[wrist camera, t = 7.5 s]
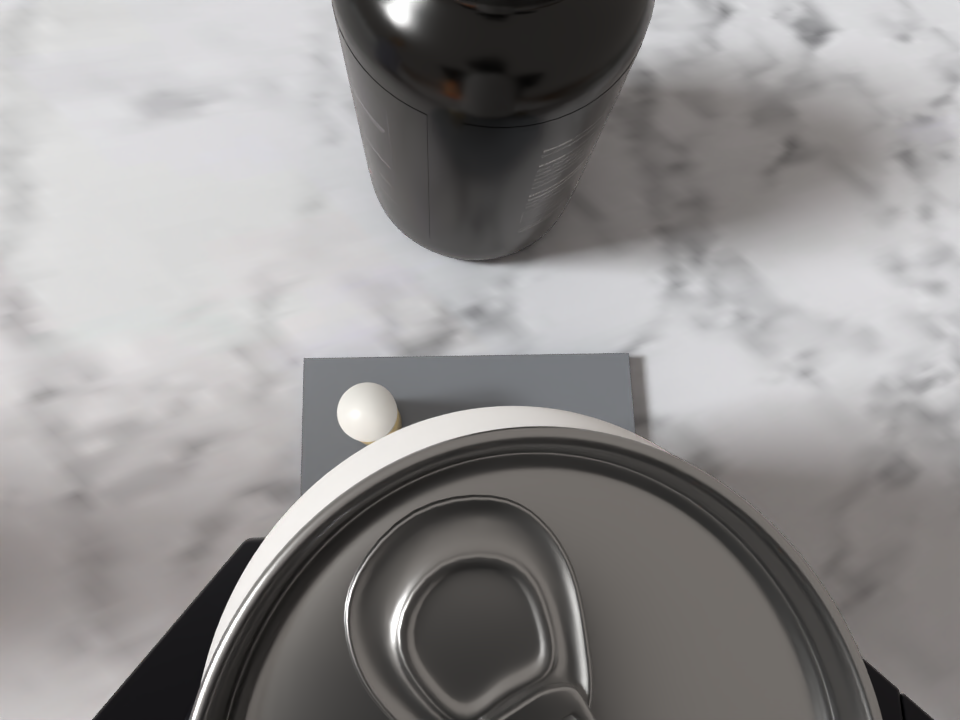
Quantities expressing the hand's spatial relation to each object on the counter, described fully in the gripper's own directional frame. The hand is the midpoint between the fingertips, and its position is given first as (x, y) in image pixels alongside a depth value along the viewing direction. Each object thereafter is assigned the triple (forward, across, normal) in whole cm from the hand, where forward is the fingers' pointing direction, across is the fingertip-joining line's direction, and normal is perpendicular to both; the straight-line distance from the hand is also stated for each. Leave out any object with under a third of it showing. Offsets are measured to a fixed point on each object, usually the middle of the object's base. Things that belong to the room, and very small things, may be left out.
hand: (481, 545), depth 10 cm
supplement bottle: (+14, -1, -2) cm, 14 cm away
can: (+4, 0, +6) cm, 7 cm away
